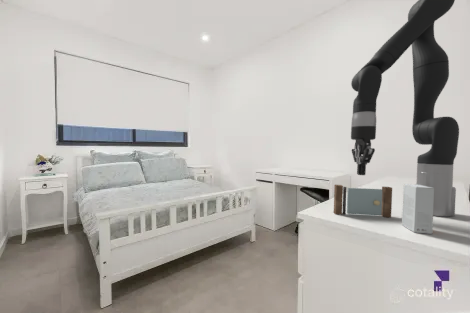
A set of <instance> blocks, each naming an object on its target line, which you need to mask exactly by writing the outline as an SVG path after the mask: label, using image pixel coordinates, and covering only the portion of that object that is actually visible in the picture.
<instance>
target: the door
mask: <svg viewBox="0 0 470 313" xmlns="http://www.w3.org/2000/svg"><path fill="white" fill-rule="evenodd" d="M381 213H382V188H361V187H347V188H346V214H347V215H362V216H363V215H365V216H381ZM381 217H382V216H381Z"/></svg>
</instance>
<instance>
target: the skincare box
mask: <svg viewBox="0 0 470 313" xmlns="http://www.w3.org/2000/svg"><path fill="white" fill-rule="evenodd" d="M402 185H403V188H402V189H403V190H402V212H401V213H402V214H401V226H402V227H404V228H407V229H408V230H409V231H411V232H413V233H414V234H415V233H416V234H417V233H418V234H428V235H432V234H433V228H434V226H433V224H434V223H433V222H434V215H433V203H434V188H432V187H427V186H423V185H416V184H412V183H411V184H409V183H403V184H402Z"/></svg>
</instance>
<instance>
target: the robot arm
mask: <svg viewBox="0 0 470 313" xmlns="http://www.w3.org/2000/svg"><path fill="white" fill-rule="evenodd" d="M454 4H455V0H417V1H416V2H415V3H414V4H413V5H412V6H411V8H410V9H409V11H408V14H407V21H406V22H405V23H404V24H403V25H402V26H401V27H400V28H399V29H398V30H397V31H396V32H395V33H394V34H393V35H392V36H391V37H390V38H388V39H387V40H386V41H385V42H384V44H383V45H382V46H381V47H380V48H379V49H378V50H377V52H375V53H374V55H373V56H371V58H370V60H369V61H368V62H367V63H366V64H364V66H363V67H361V68H360V69H359V70H358V72H357V73H355V75H354V76H353V77H352V79H351V82H350V85H351V89H353V90H354V91H355V92H357V95H356V96H355V98H354V100H353V103H352V104H353V105H352V117H351V128H350V130H351V131H350V139H351V140H353V141H355V144H354V147H353V148H352V149H351V154H352V157H353V160H354V163H356V165H357V168H356V174H357V175H358V176H366V171H367V169H366V168H367V165H368V164H370V163H371V160H372V159H373V156H374V153H375V151H376V150H375V148H373V147H372V141H373V140H375V139H376V135H377V134H376V133H377V99H378V96H379V94H380V89H381V86H382V80H383V78H382V77H383V74H384V73H386V72H387V71H388V70H389V69H391V67H392V66H393V65H394V64H395V63H396V62H397V61H398V60H399V59H400V58H401V57H402V55H403V54H405V52H407V50H408V49H409V48H410V46H411V52H412V77H413V78H412V79H413V80H412V81H413V114H412V116H413V117H412V130H411V132H412V136H413V139H414V141H415V142H416V143H417V144H418V145H424V146H425V145H427V146H428V145H431V146H430V148H429V150H427V152H425V153H422V154H420V155H418V156H417V162H416V164H417V165H416V183H415V185H423V186H427V187H432V188H434V203H433V217H434V216H435V217H446V218H447V217H455V215H456V199H457V198H456V195H457V194H456V193H457V192H456V191H457V188H456V187H454V185H453V182H454V164H455V163H454V162H455V159H456V157H457V154H458V148H459V147H458V144H459V136H460V126H459V123H458V121H457V119H455V117H452V116H439V117H435V114H434V111H435V105H436V103H437V101H438V98H439V96H440V95H441V93H442V91H443V90H444V89H445V87H446V85H447V83H448V81H449V77H450V62H449V56H448V53H447V52H446V51H445V50H444V49H443V47H441V45H440V44H439V43H438V42H437V41H436V37H435V22H436V21H437V20H440V18H441V17H443V16H445V14H447V12H449V11H450V10H451V9H452V7H453V5H454Z"/></svg>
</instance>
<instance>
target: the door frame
mask: <svg viewBox="0 0 470 313" xmlns="http://www.w3.org/2000/svg"><path fill="white" fill-rule="evenodd" d="M333 188H334V190H333V191H334V192H333V214H335V215H339V214H341V216H342V215H346V214H347V186H343V185H342V184H334V187H333ZM381 189H382V213H381V217H383V218H392V209H393V208H392V207H393V206H392V204H393V187H390V186H381Z"/></svg>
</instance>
